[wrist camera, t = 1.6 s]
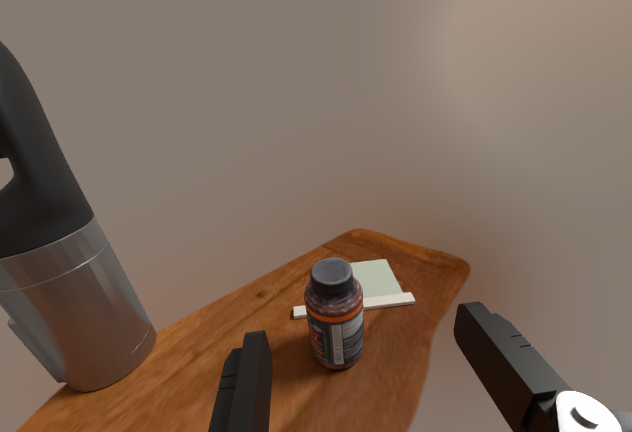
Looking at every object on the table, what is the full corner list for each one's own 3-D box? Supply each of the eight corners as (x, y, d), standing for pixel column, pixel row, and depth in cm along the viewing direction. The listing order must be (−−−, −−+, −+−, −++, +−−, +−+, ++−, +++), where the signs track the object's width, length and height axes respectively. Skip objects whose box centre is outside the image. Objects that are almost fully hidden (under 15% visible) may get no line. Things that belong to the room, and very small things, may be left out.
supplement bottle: (303, 339, 32) (290, 263, 27) (345, 318, 34) (341, 244, 29) (327, 383, 27) (317, 300, 22) (375, 355, 30) (376, 274, 24)
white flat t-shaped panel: (294, 318, 35) (293, 316, 35) (294, 272, 44) (293, 269, 43) (415, 303, 36) (415, 300, 35) (391, 260, 44) (391, 257, 44)
